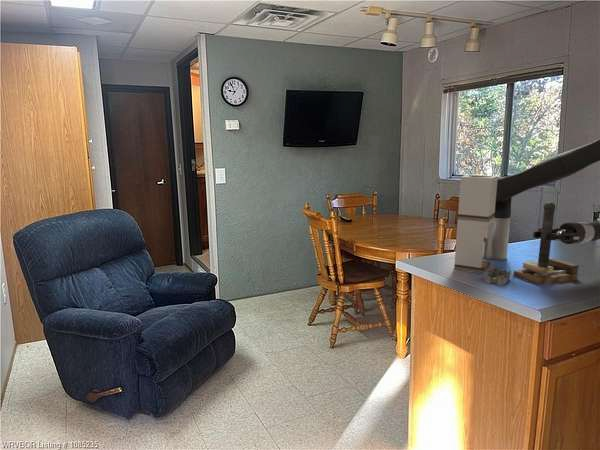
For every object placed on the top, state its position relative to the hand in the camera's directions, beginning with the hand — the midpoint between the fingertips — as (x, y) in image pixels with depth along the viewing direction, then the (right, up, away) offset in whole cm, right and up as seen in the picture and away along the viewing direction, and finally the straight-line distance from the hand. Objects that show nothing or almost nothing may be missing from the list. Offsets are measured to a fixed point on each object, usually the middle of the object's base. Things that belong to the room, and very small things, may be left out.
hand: (540, 236), depth 153 cm
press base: (+5, -15, +7) cm, 17 cm away
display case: (-16, -13, +19) cm, 28 cm away
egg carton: (-13, -16, +4) cm, 21 cm away
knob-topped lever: (+2, -12, +5) cm, 13 cm away
